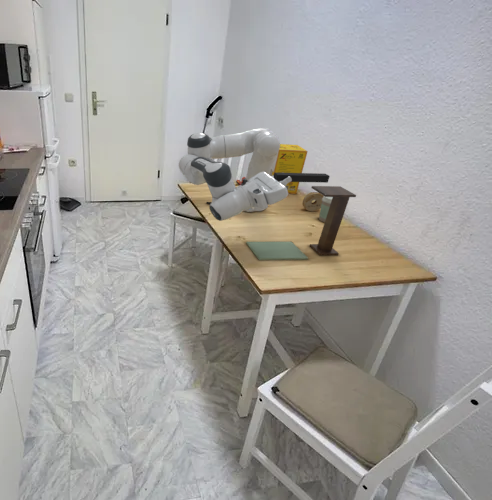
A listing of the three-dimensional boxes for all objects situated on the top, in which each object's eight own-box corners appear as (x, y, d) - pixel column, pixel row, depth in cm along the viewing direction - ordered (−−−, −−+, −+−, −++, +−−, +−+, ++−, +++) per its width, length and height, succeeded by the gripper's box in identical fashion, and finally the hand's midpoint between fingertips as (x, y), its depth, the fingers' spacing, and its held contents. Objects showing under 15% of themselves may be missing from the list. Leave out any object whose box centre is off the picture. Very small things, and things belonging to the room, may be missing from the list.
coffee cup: (336, 224, 174) (344, 201, 168) (318, 222, 175) (325, 199, 170) (332, 218, 181) (339, 195, 176) (314, 216, 183) (321, 193, 177)
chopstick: (246, 193, 208) (247, 192, 207) (236, 181, 229) (236, 179, 228) (250, 194, 208) (250, 192, 207) (239, 181, 229) (239, 179, 228)
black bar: (276, 181, 130) (277, 174, 129) (272, 179, 133) (274, 172, 132) (327, 182, 133) (329, 175, 132) (323, 180, 135) (325, 173, 134)
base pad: (259, 260, 139) (259, 258, 139) (246, 243, 151) (246, 241, 151) (307, 259, 142) (308, 257, 141) (290, 243, 154) (291, 241, 153)
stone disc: (319, 209, 191) (324, 191, 187) (321, 212, 188) (327, 194, 183) (299, 208, 191) (304, 190, 187) (302, 211, 188) (307, 192, 183)
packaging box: (261, 183, 227) (270, 143, 215) (287, 185, 227) (297, 144, 215) (268, 192, 213) (278, 149, 201) (296, 193, 212) (307, 151, 201)
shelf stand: (306, 256, 143) (325, 194, 131) (294, 245, 152) (311, 185, 140) (339, 256, 145) (361, 195, 133) (325, 245, 154) (345, 186, 142)
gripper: (245, 191, 144) (277, 175, 142) (266, 211, 126) (303, 192, 124) (240, 178, 141) (273, 161, 139) (260, 196, 123) (299, 177, 121)
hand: (287, 176), depth 131 cm, fingers closed on black bar, 3 cm apart
